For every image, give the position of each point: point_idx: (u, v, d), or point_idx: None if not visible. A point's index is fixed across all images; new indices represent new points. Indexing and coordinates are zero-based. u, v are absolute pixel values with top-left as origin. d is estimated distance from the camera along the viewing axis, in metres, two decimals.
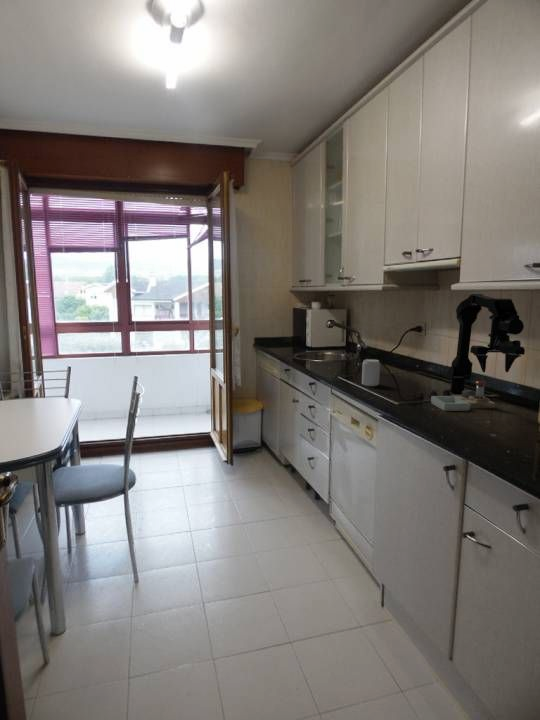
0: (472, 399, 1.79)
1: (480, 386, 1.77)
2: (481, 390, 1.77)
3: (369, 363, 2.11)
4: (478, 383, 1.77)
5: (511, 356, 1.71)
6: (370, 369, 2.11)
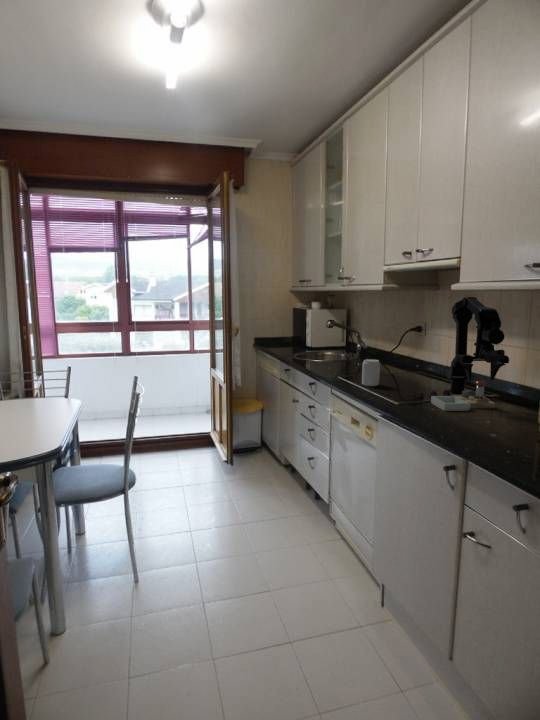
0: (472, 399, 1.79)
1: (480, 386, 1.77)
2: (481, 390, 1.77)
3: (369, 363, 2.11)
4: (478, 383, 1.77)
5: (496, 365, 1.76)
6: (370, 369, 2.11)
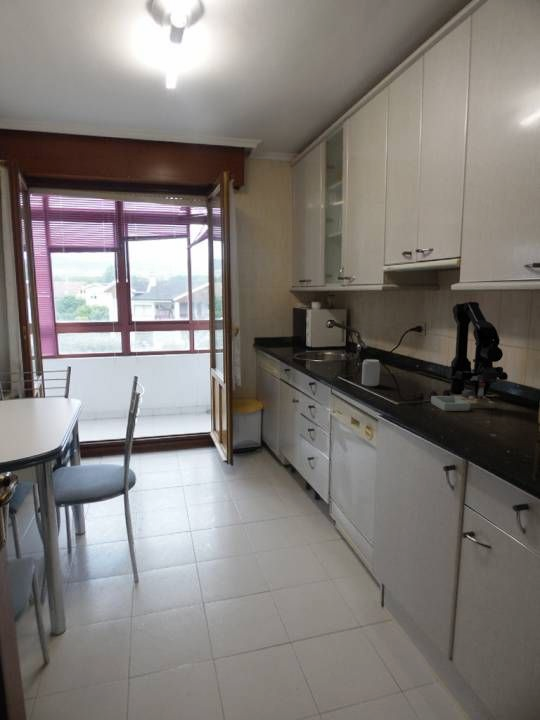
0: (472, 399, 1.79)
1: (480, 386, 1.77)
2: (481, 390, 1.77)
3: (369, 363, 2.11)
4: (478, 383, 1.77)
5: (487, 381, 1.77)
6: (370, 369, 2.11)
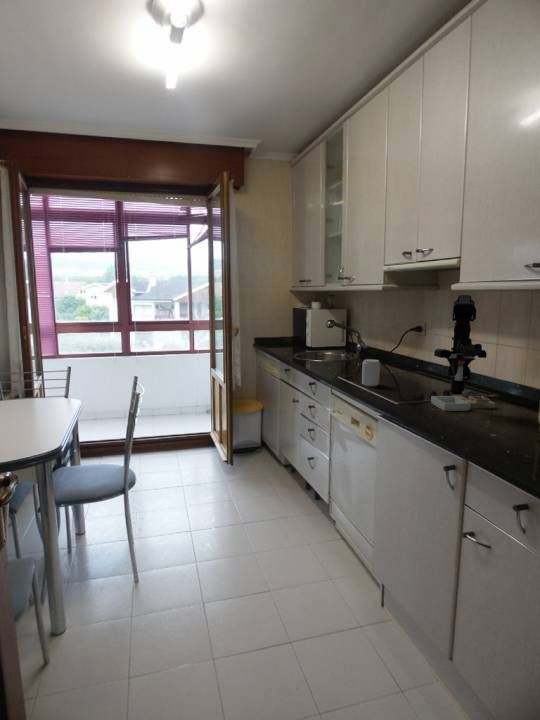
0: (472, 399, 1.79)
1: (459, 364, 1.74)
2: (460, 368, 1.74)
3: (369, 363, 2.11)
4: (457, 361, 1.74)
5: (466, 359, 1.74)
6: (370, 369, 2.11)
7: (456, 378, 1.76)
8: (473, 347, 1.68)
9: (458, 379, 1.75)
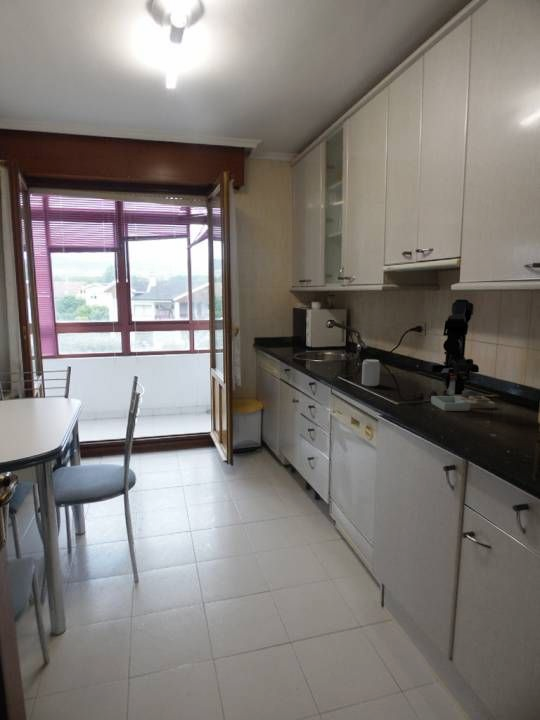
0: (472, 399, 1.79)
1: (451, 379, 1.75)
2: (452, 382, 1.76)
3: (369, 363, 2.11)
4: (449, 376, 1.75)
5: (458, 374, 1.75)
6: (370, 369, 2.11)
7: (448, 392, 1.77)
8: (464, 362, 1.69)
9: (451, 394, 1.76)
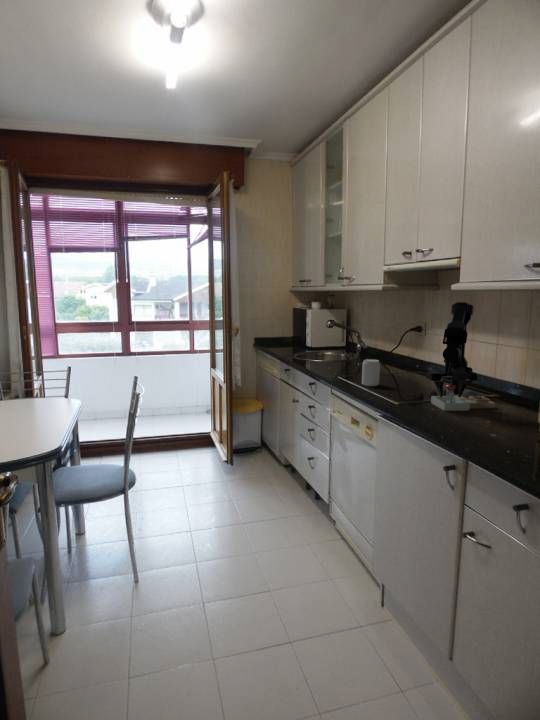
0: (472, 399, 1.79)
1: (450, 390, 1.76)
2: (451, 393, 1.76)
3: (369, 363, 2.11)
4: (448, 387, 1.76)
5: (463, 382, 1.76)
6: (370, 369, 2.11)
7: None
8: (464, 371, 1.69)
9: None
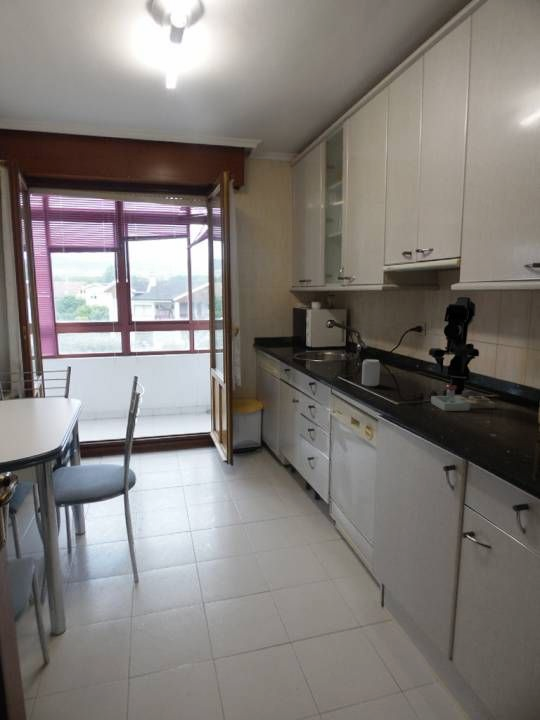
0: (472, 399, 1.79)
1: (450, 390, 1.76)
2: (451, 394, 1.76)
3: (369, 363, 2.11)
4: (448, 387, 1.76)
5: (466, 358, 1.83)
6: (370, 369, 2.11)
7: None
8: (465, 347, 1.76)
9: None
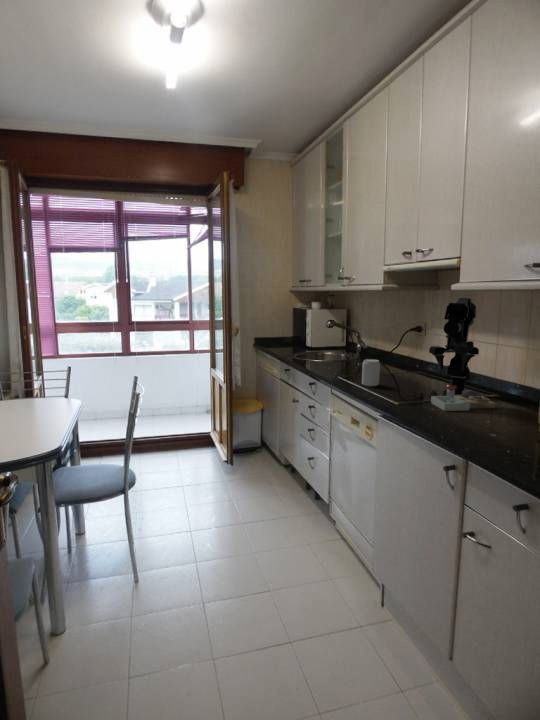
0: (472, 399, 1.79)
1: (450, 390, 1.76)
2: (451, 394, 1.76)
3: (369, 363, 2.11)
4: (448, 387, 1.76)
5: (466, 356, 1.85)
6: (370, 369, 2.11)
7: None
8: (465, 344, 1.78)
9: None
